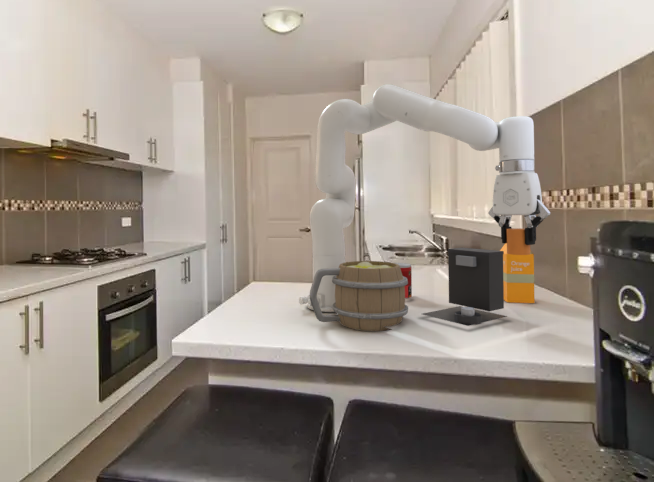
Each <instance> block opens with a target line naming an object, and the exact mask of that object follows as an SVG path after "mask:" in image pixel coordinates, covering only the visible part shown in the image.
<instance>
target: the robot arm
mask: <svg viewBox="0 0 654 482" xmlns="http://www.w3.org/2000/svg"><path fill="white" fill-rule="evenodd" d="M395 122H399V123H402V124H405V125H407V126H410V127H412V128H415V129H417V130H420V131H424V132H434V133H437V134H441V135H444V136H447V137H450V138H453V139H455V140H457V141H460V142H463V143H465V144H467V145H468V146H469V147H470V148H471V149H473V150H475V151H479V152H485V151H491V150H496V149H498V155H499V156H498V160H499V162H498V165H495V167H494V169H495V171H497V172H498V173H499V174H496V176H495V179H494V183H493V184H494V185H493V193H492V207H491V208H490V209H489V211H488V213H487V214H488V215H489V216H490V217H491V218H492V219H493V220H494V221H495V222H496V223H497V225H498V227H499V228H500V238H501V243H502V244H505V243H507V229H511V228H512V226H510V224H511V221H512V217H513V216H523V218H524V220H525V223H526V227H525V228H524V229H525V244H526V245H530V246H532V245H533V246H534V245H535V244H536V241H537V228H538V227H539V225H540V224H541V223H542V222H543V221H545V219H547V218H548V217H549V216H550V215H551V214H552V213H551V211H550V210H549V209H548V208H547V206H546V205H545V204H544V203H543V195H542V194H543V193H542V188H541V187H542V186H541V181H540V178H539V175H538V173H537V172H535V171H536V166H535V165H536V164H535V163H536V161H535V126H534V125H535V124H534V120H533V118H532V117H531V116H527V115H518V116H517V115H516V116H509V117H505V118H503V119H501V120H500V121H494V119H492V118H491V117H489V116H487V115H485V114H483V113H480V112H477V111H474V110H471V109H469V108H466V107H462V106H460V105H457V104H453V103H449V102H446V101H443V100H441V99H440V100H439V99H435V98H432V97H430V96H427V95H424V94H421V93H418V92H416V91H413V90H410V89H407V88H404V87H401V86H398V85H395V84H392V83H386V84H382V85H380V86H379V87H377V89H376V90H375V91H374V93H373V95H372V100H371V101H368V102H366V103H364V104H361V103H359V102H358V101H356V100H354V99H350V98H340V99H337V100H335V101H333V102H331V103H330V104H328V106H326V108H325V109H324V110H323V111H322V113H321V115H320V116H319V118H318V123H317V127H316V149H315V150H316V151H315V167H314V168H315V169H314V183H315V186H316V188H317V189H318V190H319V191H320V192H322V193H324V194H325V198H322V199H320V200H318V201H316V202H315V203H314V204H313V205H312V206H311V209H310V212H309V227H310V232H311V233H310V234H311V251H312V253H311V254H312V281H313V280H314V277H315V274H316V272H317V271H318V270H320V269H331V268H339V265H340V264H341V263H345V262H347V261H346V240H345V233H344V230H345V229H347V228H348V227H349V226H351V224H352V223H353V221H354V218H355V212H356V211H355V210H356V189H357V187H356V184H357V182H356V181H357V180H356V175H355V173H354V171H353V170H352V168H351V167H350V166H348V165H347V164H346V152H347V145H346V133H350V134H352V135H364V134H367V133H370V132H372V131H374V130H377V129H380V128H383V127H385V126H388V125H391V124H392V123H395ZM333 276H335V275H326V276H323V277H322V279H321V282H320V285H319V288H318V292H317V300H318V303H319V306H320V309H321V312H322V313H335V312H334V311H333V308H332V305H333V303H335V284H334V283H333V282H332V278H333ZM298 303H299V304H300V305H305V304H307V309H309V310H311V311H314V310H313V307H312V304H311V301H310V296H309V295H307V296H300V297H298Z"/></svg>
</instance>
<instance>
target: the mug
mask: <svg viewBox="0 0 654 482" xmlns="http://www.w3.org/2000/svg"><path fill="white" fill-rule="evenodd" d="M395 263H396V262H390V261H379V260H378V261H377V260H356V261H346V262H345V263H341V264H340V265H339V268H331V269H320V270H318V271H317V272H316V274H315V277H314V280H313V279H312V283H311V285H310V290H309V295H308V296H310V301H311V304H312V307H313V310H312V311H313V313H314V315H315V317H316V319H317V320H318V322H321V323H328V322H329V323H330V322H339V323H340V325H342V326H344V327H346V328H348V329H351V330H356V331H363V332H386V331H391V330H393V329H392V328H390V327H392V326H396V325H399V324H400V323H401V322H402V320H403V317H404V316H406V315H407V314H408V313H409V306H408V305H407V304H406V298H405V285H407V284H408V280H407V278H406V277H404V276H403V275H402V272H401V269H400V266H399V265H398V264H395ZM326 275H335V276H333V278H332V282H333V283H334V284H335V303H333V305H332V308H333V310H332V311H334V312H333V313H335V314H323V312H321V309H320V306H319V303H318V300H317V292H318V288H319V285H320V282H321V279H322V277H323V276H326Z"/></svg>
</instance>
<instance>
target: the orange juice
mask: <svg viewBox="0 0 654 482" xmlns="http://www.w3.org/2000/svg"><path fill="white" fill-rule="evenodd" d="M499 251H504V254H503V286H504V302H506V303H511V304H512V303H515V304H516V303H517V304H535V303H536V302H535V253H534V252H533V251H532V249H530V255H512V254H507V243H503V246H502V247H501V248H500V249H499Z"/></svg>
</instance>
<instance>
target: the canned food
mask: <svg viewBox="0 0 654 482" xmlns="http://www.w3.org/2000/svg"><path fill="white" fill-rule="evenodd" d="M394 263H395V264H398V265H399V266H400V269H401V272H402V275H403V276H404V277H406V278H407V280H408V284H407V285H405V299H409V298H412V296H413V295H412V293H413V292H412V291H413V288H412V287H413V284H412V283H413V282H412V281H413V280H412V279H413V278H412V277H413V275H412V264H411V263H408V262H407V263H406V262H394Z"/></svg>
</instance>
